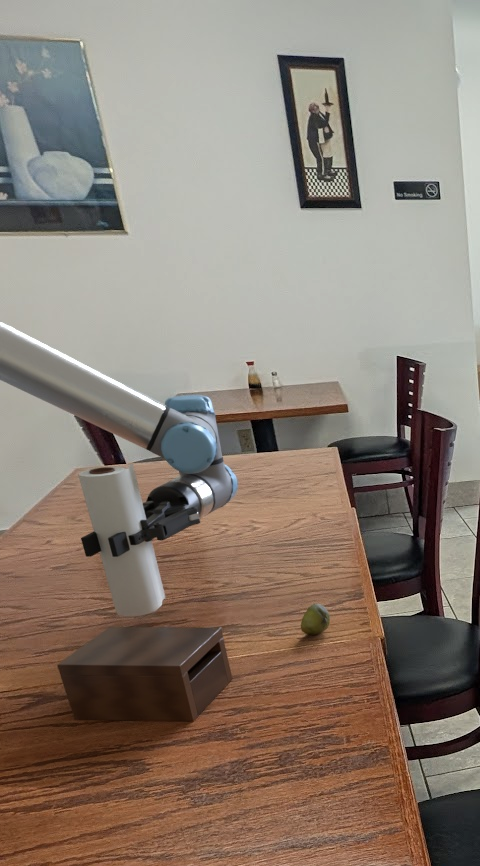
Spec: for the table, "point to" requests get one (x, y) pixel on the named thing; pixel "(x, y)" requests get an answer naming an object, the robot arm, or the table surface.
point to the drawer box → (146, 673)
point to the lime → (315, 620)
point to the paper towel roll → (122, 512)
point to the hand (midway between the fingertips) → (99, 547)
